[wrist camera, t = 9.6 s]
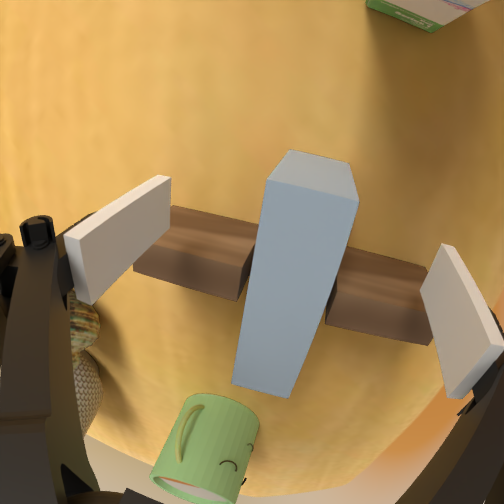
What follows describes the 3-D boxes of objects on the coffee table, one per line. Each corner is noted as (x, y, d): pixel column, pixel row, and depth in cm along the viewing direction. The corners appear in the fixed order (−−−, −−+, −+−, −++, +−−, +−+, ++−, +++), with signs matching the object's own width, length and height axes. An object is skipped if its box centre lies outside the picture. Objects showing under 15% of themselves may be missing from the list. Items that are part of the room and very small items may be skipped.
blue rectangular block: (289, 149, 20) (266, 179, 13) (349, 163, 19) (359, 201, 12) (257, 312, 27) (231, 383, 20) (302, 324, 26) (288, 398, 19)
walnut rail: (173, 205, 24) (131, 238, 19) (425, 267, 21) (445, 316, 16) (171, 233, 25) (133, 271, 20) (413, 293, 22) (427, 345, 17)
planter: (79, 318, 35) (17, 388, 23) (135, 393, 40) (94, 462, 29) (34, 324, 40) (-15, 376, 28) (82, 387, 45) (44, 440, 34)
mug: (269, 438, 37) (247, 514, 27) (200, 431, 40) (172, 497, 30) (245, 382, 32) (211, 479, 22) (165, 377, 35) (121, 454, 25)
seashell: (71, 234, 28) (2, 285, 20) (129, 322, 32) (79, 387, 23) (33, 263, 32) (-21, 306, 24) (81, 334, 36) (38, 385, 28)
